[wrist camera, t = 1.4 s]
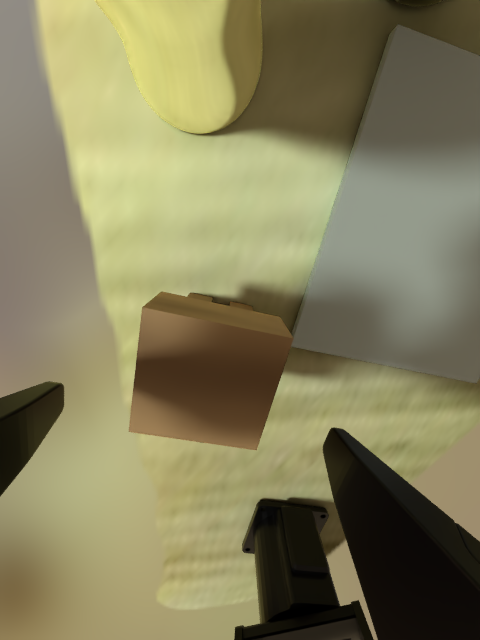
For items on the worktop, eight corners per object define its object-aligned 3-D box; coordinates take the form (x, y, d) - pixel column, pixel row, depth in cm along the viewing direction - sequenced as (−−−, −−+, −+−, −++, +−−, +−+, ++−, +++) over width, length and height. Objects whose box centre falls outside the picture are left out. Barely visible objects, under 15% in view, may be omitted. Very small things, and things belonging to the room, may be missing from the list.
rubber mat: (468, 378, 18) (476, 383, 17) (288, 342, 16) (290, 346, 16) (626, 124, 13) (645, 119, 12) (389, 35, 11) (397, 24, 11)
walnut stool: (246, 371, 17) (256, 450, 11) (166, 357, 16) (128, 431, 10) (267, 296, 15) (293, 338, 9) (179, 276, 14) (142, 307, 8)
